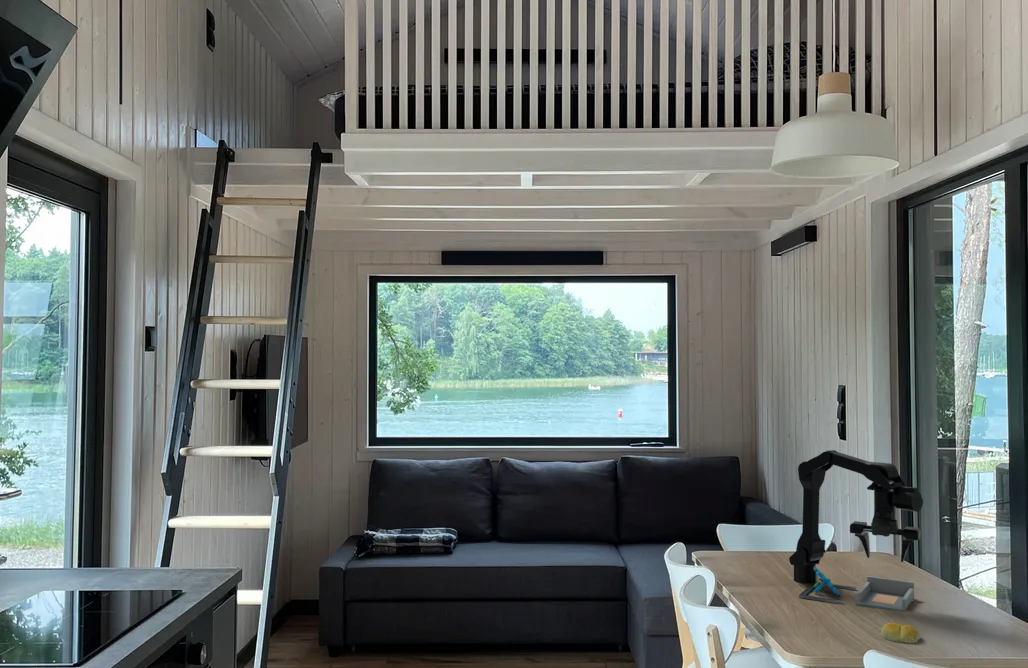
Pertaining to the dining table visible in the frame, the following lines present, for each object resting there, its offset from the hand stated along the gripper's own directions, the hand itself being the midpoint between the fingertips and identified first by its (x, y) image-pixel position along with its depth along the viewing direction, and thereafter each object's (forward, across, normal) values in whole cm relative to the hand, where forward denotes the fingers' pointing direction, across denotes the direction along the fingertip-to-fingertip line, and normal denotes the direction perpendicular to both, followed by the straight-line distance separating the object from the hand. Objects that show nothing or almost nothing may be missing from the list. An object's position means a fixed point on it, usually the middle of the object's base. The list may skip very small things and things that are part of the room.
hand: (885, 559), depth 247 cm
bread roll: (+13, +7, -37) cm, 40 cm away
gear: (+14, -14, 0) cm, 20 cm away
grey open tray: (+12, 0, 0) cm, 12 cm away
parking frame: (+12, -15, 0) cm, 19 cm away
